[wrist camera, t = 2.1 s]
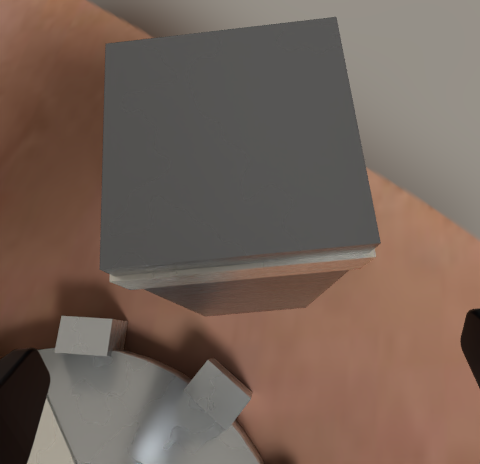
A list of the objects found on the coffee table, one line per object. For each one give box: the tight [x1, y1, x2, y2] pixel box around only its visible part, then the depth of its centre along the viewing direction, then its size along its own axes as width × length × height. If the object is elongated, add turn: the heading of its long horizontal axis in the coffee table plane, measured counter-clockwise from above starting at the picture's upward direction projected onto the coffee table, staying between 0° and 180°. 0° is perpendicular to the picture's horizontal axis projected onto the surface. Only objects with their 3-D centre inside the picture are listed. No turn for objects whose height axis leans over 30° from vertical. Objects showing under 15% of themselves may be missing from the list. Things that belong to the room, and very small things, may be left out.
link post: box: [100, 17, 381, 316], centre depth 13 cm, size 5×5×12 cm
